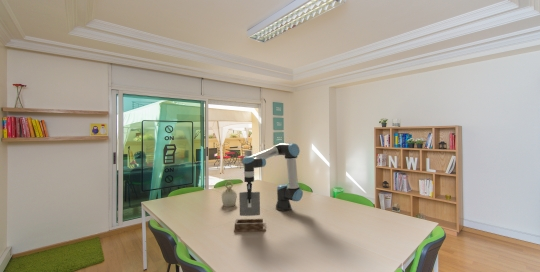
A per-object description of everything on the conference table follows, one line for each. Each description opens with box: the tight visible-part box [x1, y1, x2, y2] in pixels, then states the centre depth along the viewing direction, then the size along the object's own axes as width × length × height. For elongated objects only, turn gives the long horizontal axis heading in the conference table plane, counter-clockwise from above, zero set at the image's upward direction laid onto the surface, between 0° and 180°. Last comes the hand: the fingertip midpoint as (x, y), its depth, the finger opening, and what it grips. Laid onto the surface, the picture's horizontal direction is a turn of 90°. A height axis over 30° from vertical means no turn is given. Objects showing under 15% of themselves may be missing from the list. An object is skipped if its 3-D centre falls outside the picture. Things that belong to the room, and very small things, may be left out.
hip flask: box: [238, 189, 261, 217], centre depth 182 cm, size 16×4×20 cm, turn 93°
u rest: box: [233, 218, 267, 233], centre depth 182 cm, size 24×12×6 cm, turn 92°
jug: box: [221, 180, 238, 208], centre depth 241 cm, size 15×16×25 cm
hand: (249, 206), depth 182 cm, fingers closed on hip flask, 4 cm apart
